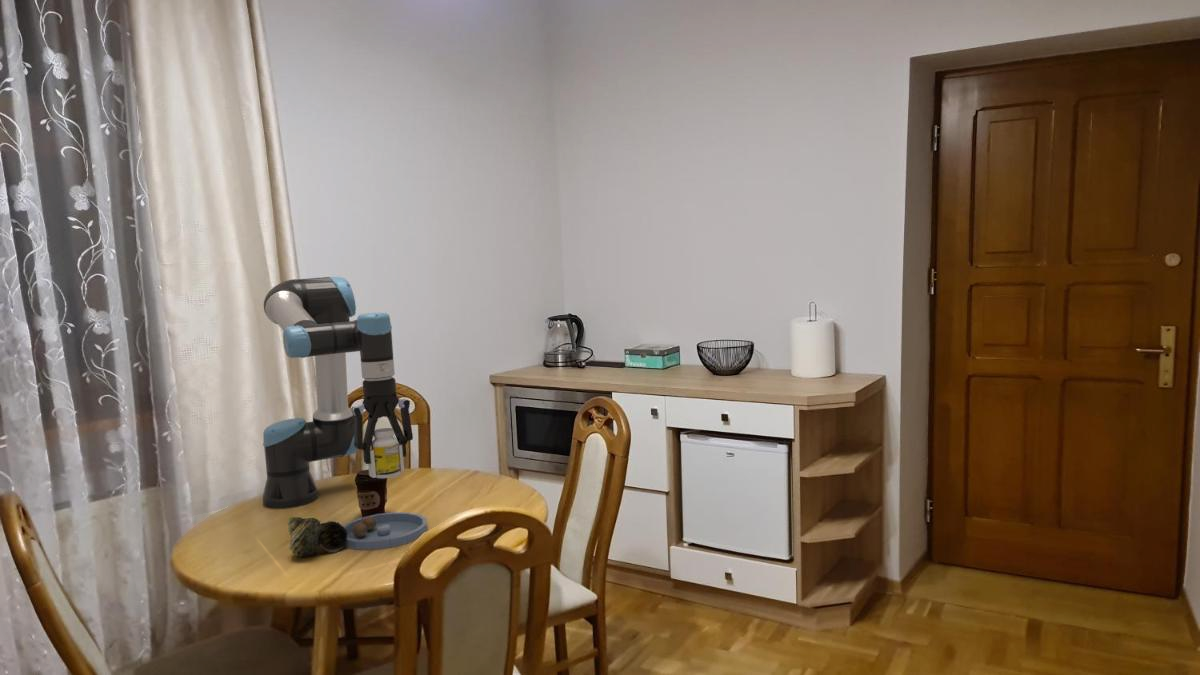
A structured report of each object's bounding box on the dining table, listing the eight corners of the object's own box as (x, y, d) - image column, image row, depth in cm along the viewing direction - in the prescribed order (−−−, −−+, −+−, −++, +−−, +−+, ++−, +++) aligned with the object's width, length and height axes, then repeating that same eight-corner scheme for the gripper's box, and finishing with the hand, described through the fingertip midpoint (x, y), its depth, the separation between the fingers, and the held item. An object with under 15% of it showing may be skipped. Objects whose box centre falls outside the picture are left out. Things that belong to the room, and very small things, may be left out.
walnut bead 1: (351, 536, 196) (350, 523, 196) (365, 533, 198) (364, 519, 198) (355, 540, 193) (354, 526, 193) (370, 537, 195) (368, 523, 195)
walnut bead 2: (360, 530, 200) (359, 516, 200) (373, 527, 202) (372, 513, 202) (364, 533, 198) (363, 520, 197) (378, 530, 200) (377, 517, 199)
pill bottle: (369, 476, 191) (365, 430, 189) (392, 470, 195) (388, 426, 194) (381, 480, 186) (377, 434, 185) (405, 474, 190) (401, 429, 189)
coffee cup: (380, 524, 207) (376, 475, 205) (351, 524, 208) (347, 475, 207) (395, 513, 215) (392, 466, 214) (367, 513, 217) (363, 466, 215)
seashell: (328, 566, 179) (324, 523, 178) (282, 565, 182) (278, 522, 181) (351, 549, 190) (347, 508, 189) (307, 548, 192) (304, 507, 191)
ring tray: (328, 536, 200) (327, 525, 199) (408, 517, 211) (407, 506, 211) (355, 560, 182) (354, 548, 182) (440, 537, 194) (440, 526, 194)
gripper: (343, 385, 180) (351, 485, 182) (423, 374, 191) (430, 468, 193) (333, 382, 186) (341, 478, 188) (411, 371, 197) (418, 463, 199)
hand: (386, 473), depth 190 cm, fingers closed on pill bottle, 6 cm apart
